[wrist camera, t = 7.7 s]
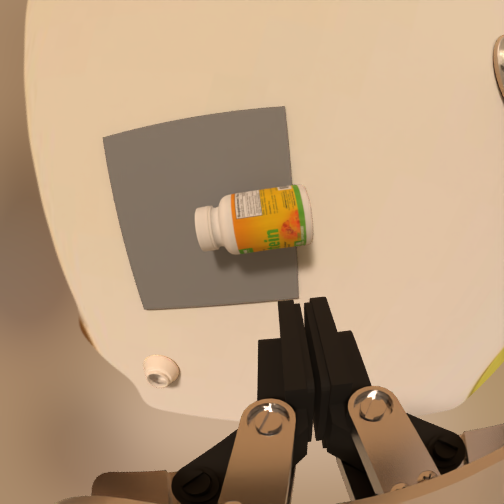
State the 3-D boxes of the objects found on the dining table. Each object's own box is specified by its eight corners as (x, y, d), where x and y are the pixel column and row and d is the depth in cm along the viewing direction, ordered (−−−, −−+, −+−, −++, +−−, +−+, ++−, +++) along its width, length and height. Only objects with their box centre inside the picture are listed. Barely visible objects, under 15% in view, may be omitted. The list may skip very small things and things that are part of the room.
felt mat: (284, 106, 25) (284, 106, 25) (298, 295, 33) (298, 297, 33) (104, 137, 26) (102, 137, 26) (145, 307, 34) (144, 309, 34)
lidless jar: (180, 379, 39) (177, 355, 37) (177, 394, 36) (173, 370, 34) (147, 375, 39) (142, 350, 37) (142, 389, 36) (136, 365, 34)
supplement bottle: (312, 254, 27) (208, 269, 28) (302, 208, 30) (207, 222, 30) (316, 221, 22) (191, 239, 23) (302, 171, 25) (192, 188, 26)
